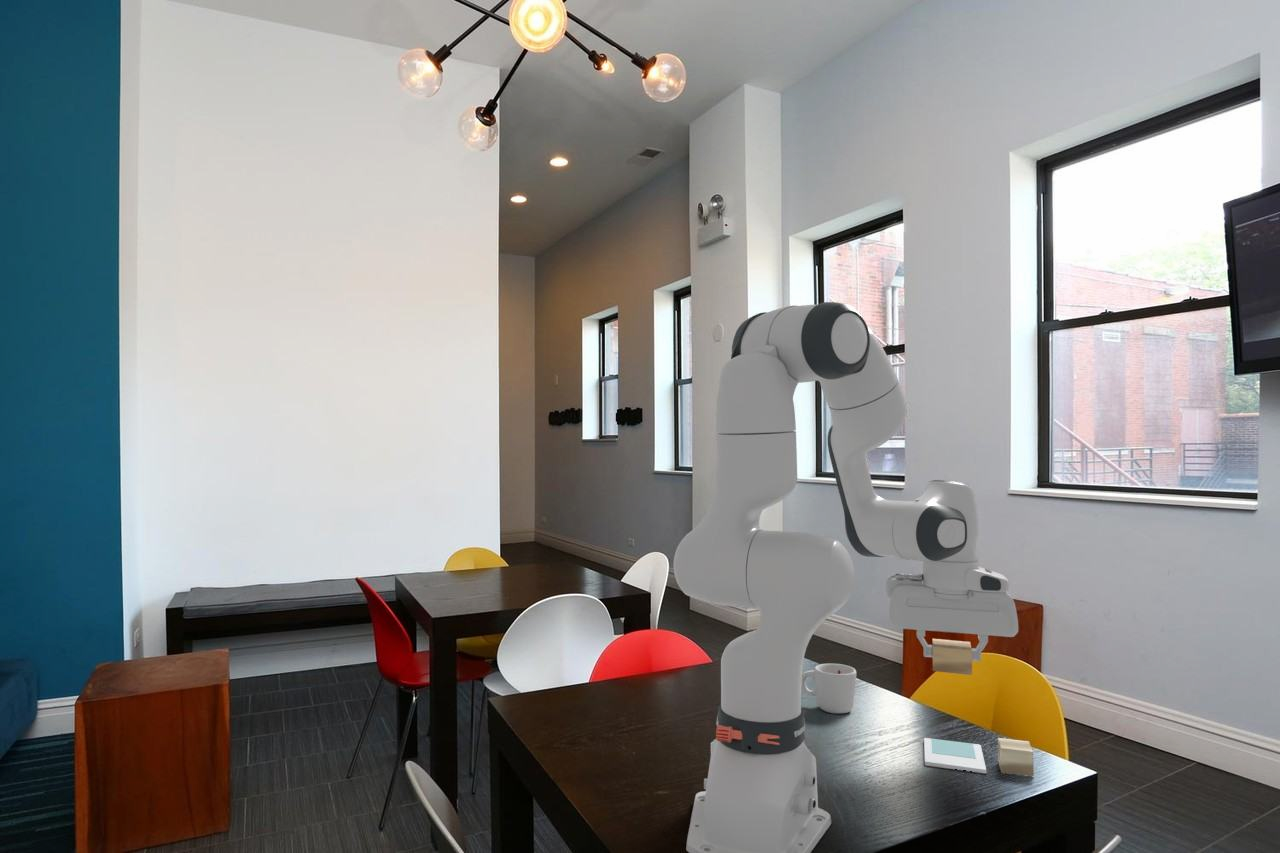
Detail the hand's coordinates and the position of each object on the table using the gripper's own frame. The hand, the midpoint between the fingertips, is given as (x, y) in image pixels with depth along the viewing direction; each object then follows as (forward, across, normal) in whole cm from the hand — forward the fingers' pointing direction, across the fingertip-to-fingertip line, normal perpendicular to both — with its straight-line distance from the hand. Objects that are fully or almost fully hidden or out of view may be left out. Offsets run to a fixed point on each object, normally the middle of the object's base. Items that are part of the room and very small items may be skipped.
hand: (951, 658), depth 126 cm
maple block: (+16, +9, -4) cm, 19 cm away
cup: (+16, -22, +15) cm, 31 cm away
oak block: (+2, 0, 0) cm, 2 cm away
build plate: (+15, 0, -2) cm, 16 cm away
